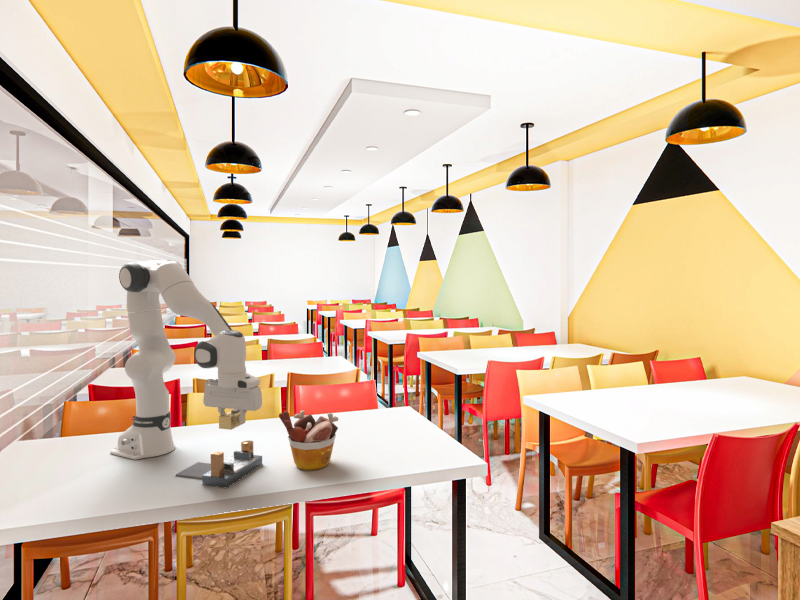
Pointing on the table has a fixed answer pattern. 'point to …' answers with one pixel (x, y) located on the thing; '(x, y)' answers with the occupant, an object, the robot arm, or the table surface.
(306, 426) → the fried chicken
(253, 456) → the hand plane
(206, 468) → the mat
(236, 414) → the tan rectangular block
